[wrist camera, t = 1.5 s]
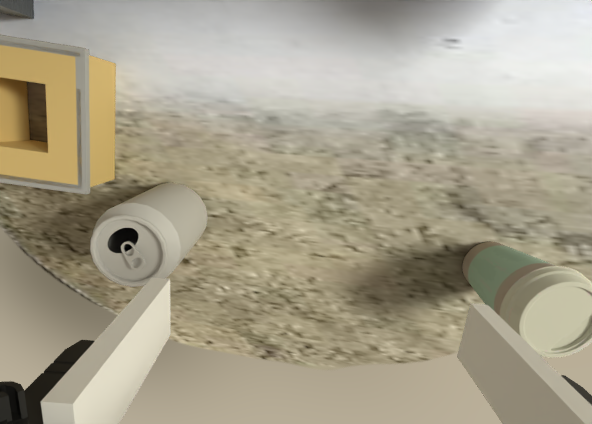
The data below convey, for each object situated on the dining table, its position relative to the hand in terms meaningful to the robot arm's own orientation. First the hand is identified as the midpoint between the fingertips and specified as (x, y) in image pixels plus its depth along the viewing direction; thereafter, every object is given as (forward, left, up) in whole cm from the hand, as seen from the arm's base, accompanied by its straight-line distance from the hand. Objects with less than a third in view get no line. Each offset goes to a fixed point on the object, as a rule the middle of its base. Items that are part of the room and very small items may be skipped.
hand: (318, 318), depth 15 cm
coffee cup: (+5, +23, -25) cm, 34 cm away
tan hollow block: (-5, -27, -25) cm, 37 cm away
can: (+4, -14, -25) cm, 29 cm away
